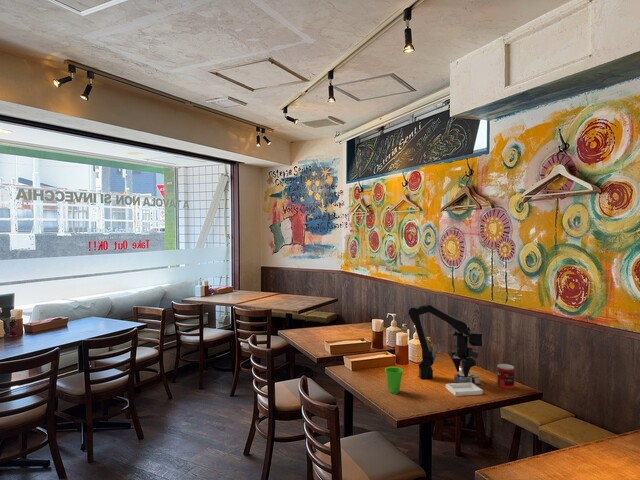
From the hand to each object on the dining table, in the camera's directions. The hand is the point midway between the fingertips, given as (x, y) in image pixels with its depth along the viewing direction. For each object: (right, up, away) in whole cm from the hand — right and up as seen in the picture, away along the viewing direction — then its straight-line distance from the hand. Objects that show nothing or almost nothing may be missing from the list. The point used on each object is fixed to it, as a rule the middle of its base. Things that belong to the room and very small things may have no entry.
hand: (462, 374), depth 214 cm
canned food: (+20, -5, -6) cm, 22 cm away
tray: (-3, -5, -12) cm, 13 cm away
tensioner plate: (+3, -5, 0) cm, 6 cm away
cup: (-38, -5, -11) cm, 40 cm away
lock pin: (0, -4, 0) cm, 4 cm away
